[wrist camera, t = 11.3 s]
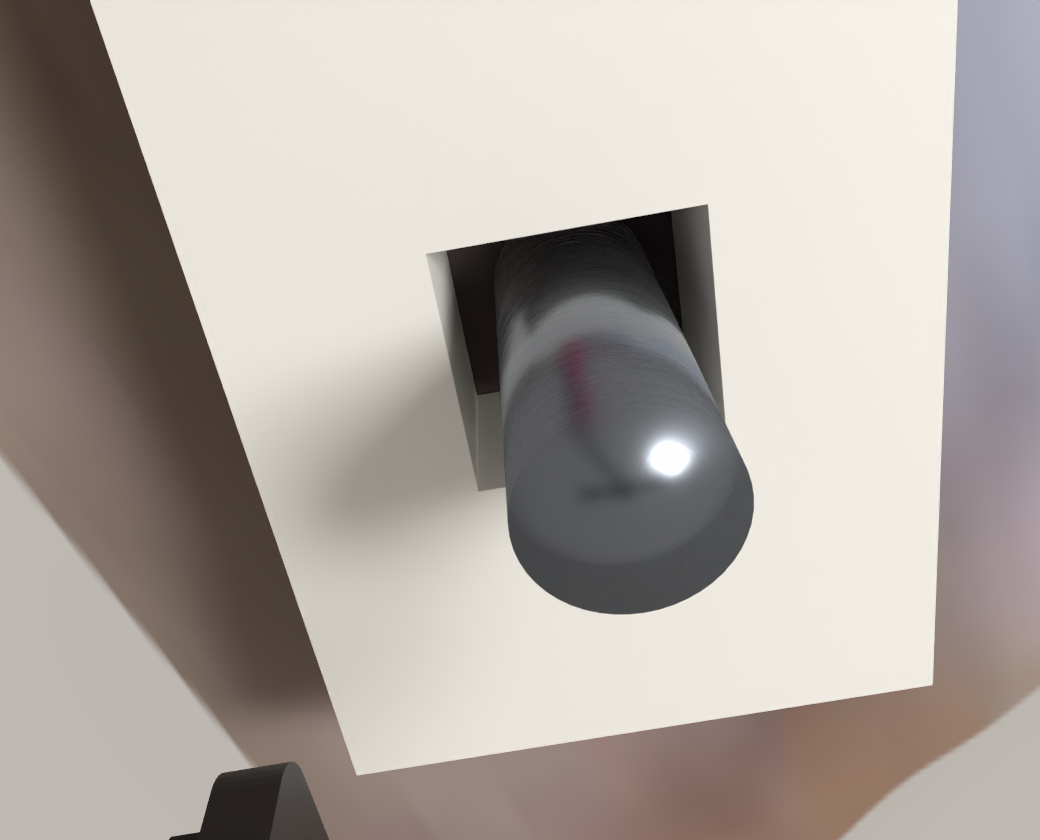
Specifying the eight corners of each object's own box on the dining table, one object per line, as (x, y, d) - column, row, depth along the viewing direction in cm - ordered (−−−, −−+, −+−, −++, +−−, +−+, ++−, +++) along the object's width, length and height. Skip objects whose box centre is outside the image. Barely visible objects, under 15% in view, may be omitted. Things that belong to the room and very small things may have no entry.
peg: (481, 219, 23) (487, 430, 14) (638, 191, 22) (746, 387, 14) (508, 361, 24) (529, 631, 15) (655, 336, 24) (761, 594, 15)
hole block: (125, -151, 19) (33, -163, 15) (862, -295, 18) (970, -347, 14) (372, 651, 28) (356, 775, 24) (865, 571, 28) (932, 685, 24)
